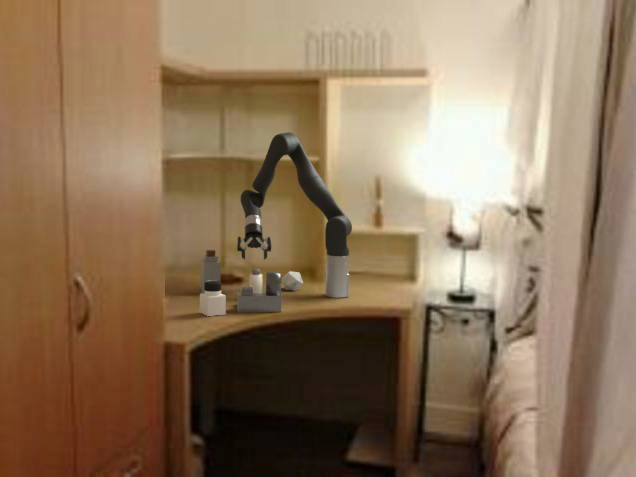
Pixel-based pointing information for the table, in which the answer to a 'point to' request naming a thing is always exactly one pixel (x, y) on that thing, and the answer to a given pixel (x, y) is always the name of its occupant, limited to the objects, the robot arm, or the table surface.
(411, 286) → the table surface
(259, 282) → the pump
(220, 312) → the medicine bottle
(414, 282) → the table surface
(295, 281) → the die
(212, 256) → the perfume bottle
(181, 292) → the table surface
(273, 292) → the block
